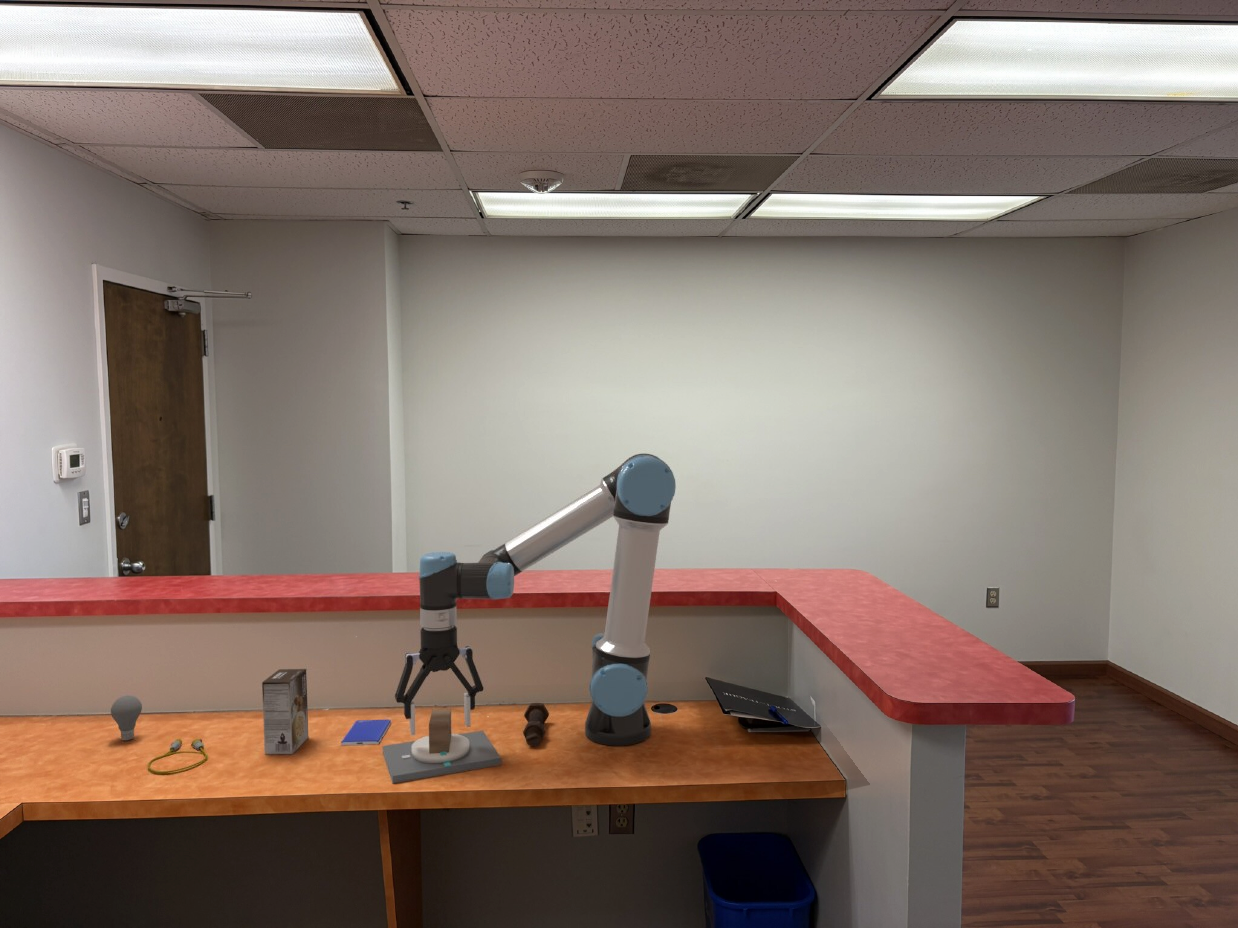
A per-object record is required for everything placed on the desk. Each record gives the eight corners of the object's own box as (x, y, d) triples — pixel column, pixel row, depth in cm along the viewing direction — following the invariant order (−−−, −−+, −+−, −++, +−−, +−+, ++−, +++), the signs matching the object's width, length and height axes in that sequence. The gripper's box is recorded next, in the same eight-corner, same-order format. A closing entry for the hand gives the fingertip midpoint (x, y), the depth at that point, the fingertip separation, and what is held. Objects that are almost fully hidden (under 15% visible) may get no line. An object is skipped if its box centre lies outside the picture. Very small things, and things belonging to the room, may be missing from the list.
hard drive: (355, 719, 193) (340, 740, 181) (390, 718, 193) (378, 739, 181) (355, 726, 193) (341, 747, 181) (391, 725, 193) (378, 746, 181)
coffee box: (280, 737, 185) (278, 668, 184) (309, 737, 185) (307, 668, 184) (263, 754, 176) (261, 681, 175) (293, 754, 176) (291, 681, 175)
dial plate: (483, 736, 185) (482, 729, 185) (501, 764, 170) (501, 756, 170) (382, 752, 177) (382, 744, 177) (392, 783, 162) (392, 774, 162)
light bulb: (105, 742, 182) (103, 698, 182) (129, 732, 188) (127, 690, 187) (125, 746, 180) (124, 701, 180) (149, 736, 186) (147, 693, 185)
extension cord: (230, 747, 181) (230, 738, 181) (184, 778, 165) (184, 768, 165) (179, 744, 183) (179, 735, 182) (129, 775, 167) (128, 765, 167)
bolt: (529, 757, 179) (533, 728, 194) (549, 745, 179) (552, 717, 194) (516, 735, 178) (521, 708, 193) (536, 723, 178) (539, 697, 193)
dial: (409, 743, 177) (408, 710, 177) (465, 736, 181) (464, 703, 181) (413, 766, 166) (413, 730, 165) (473, 758, 170) (472, 723, 169)
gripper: (383, 636, 164) (385, 743, 165) (497, 625, 173) (498, 726, 174) (379, 627, 171) (381, 730, 172) (489, 616, 180) (490, 714, 181)
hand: (440, 728), depth 173 cm, fingers open, 11 cm apart
